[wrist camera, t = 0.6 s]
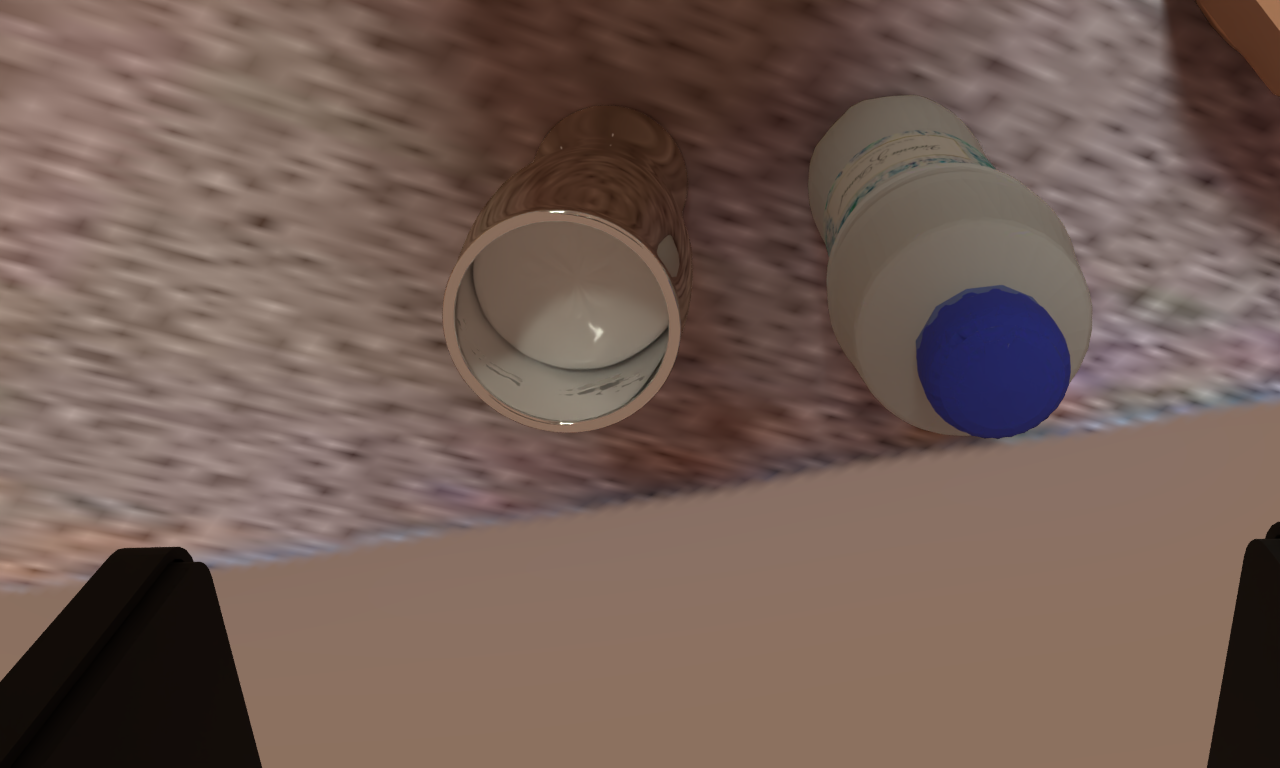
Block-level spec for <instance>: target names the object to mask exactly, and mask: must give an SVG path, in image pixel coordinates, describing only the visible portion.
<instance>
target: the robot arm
mask: <svg viewBox="0 0 1280 768" xmlns="http://www.w3.org/2000/svg"><path fill="white" fill-rule="evenodd" d="M0 768H262V766H261V762H260V758H259V754H258V750H257V747H256V743H255V739H254V735H253V731H252V728H251V724H250V720H249V716H248V712H247V708H246V705H245V701H244V697H243V693H242V690H241V686H240V682H239V678H238V674H237V671H236V667H235V663H234V659H233V655H232V651H231V648H230V644H229V640H228V636H227V633H226V629H225V625H224V621H223V617H222V613H221V610H220V606H219V602H218V598H217V594H216V591H215V587H214V583H213V579H212V576H211V573H210V571H209V569H208V567H207V566H206V565H205V564H204V563H202V562H193V559H192V557H191V555H190V554H189V553H188V552H187V550H185V549H183V548H181V547H151V548H123V549H118V550H117V551H115V552H114V553H113V554H112V555H110V557H109V558H108V559H107V560H106V561H105V562H104V563H103V565H102V566H101V567H100V568H99V569H98V570H97V571H96V573H95V574H94V575H93V576H92V577H91V578H90V579H89V581H88V582H87V583H86V584H85V585H84V586H83V588H82V589H81V590H80V591H79V592H78V593H77V595H76V596H75V597H74V598H73V599H72V600H71V601H70V603H69V604H68V605H67V606H66V607H65V608H64V609H63V610H62V612H61V613H60V614H59V615H58V616H57V617H56V619H55V620H54V621H53V622H52V623H51V624H50V625H49V627H48V628H47V629H46V630H45V631H44V632H43V633H42V635H41V636H40V637H39V638H38V639H37V640H36V641H35V643H34V644H33V645H32V646H31V647H30V648H29V650H28V651H27V652H26V653H25V654H24V655H23V656H22V658H21V659H20V660H19V661H18V662H17V663H16V665H15V666H14V667H13V668H12V669H11V670H10V671H9V673H8V674H7V675H6V676H5V677H4V678H3V679H2V681H1V682H0ZM1207 768H1280V522H1277V523H1275V524H1274V525H1272V526H1271V528H1270V529H1269V531H1268V532H1267V534H1266V538H1265V539H1254V540H1252V541H1251V542H1250V543H1249V544H1248V546H1247V548H1246V552H1245V555H1244V560H1243V566H1242V572H1241V577H1240V583H1239V588H1238V595H1237V600H1236V606H1235V611H1234V617H1233V623H1232V628H1231V634H1230V640H1229V646H1228V651H1227V657H1226V662H1225V668H1224V674H1223V679H1222V685H1221V691H1220V697H1219V702H1218V708H1217V714H1216V719H1215V725H1214V731H1213V736H1212V742H1211V748H1210V753H1209V759H1208V765H1207Z"/></svg>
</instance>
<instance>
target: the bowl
mask: <svg viewBox="0 0 1280 768" xmlns="http://www.w3.org/2000/svg"><path fill="white" fill-rule="evenodd" d="M1195 1H1196V4H1197V5H1198V7H1199V8H1200V10H1201V11H1202V13H1203V14H1204V16H1205V17H1206V19H1207V20H1208V22H1209V23H1210V25H1211V26H1212V27H1213V28H1214V29H1215V30H1216V31H1217V32H1218V33H1219V35H1220V36H1221V37H1222V38H1223V39H1224V40H1225V41H1226V42H1227V43H1228V44H1229V45H1230V46H1231V47H1233V48H1234V49H1235V50H1236V51H1238V52H1239V53H1240V54H1242V55H1243V57H1244V58H1245V59H1246V60H1247V62H1248V63H1249V64H1250V65H1251V67H1252V68H1253V69H1254V71H1255V72H1256V73H1257V74H1258V76H1259V77H1260V78H1261V79H1262V81H1263V82H1264V83H1265V85H1266V86H1267V87H1268V88H1269V90H1270V91H1271V92H1272V93H1273V94H1274V95H1277V96H1279V97H1280V0H1195Z"/></svg>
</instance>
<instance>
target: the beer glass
mask: <svg viewBox="0 0 1280 768" xmlns="http://www.w3.org/2000/svg"><path fill="white" fill-rule="evenodd" d="M687 190H688V178H687V170H686V166H685V162H684V159H683V156H682V154H681V152H680V150H679V148H678V146H677V144H676V142H675V141H674V139H673V138H672V137H671V135H670V134H669V133H668V132H667V131H666V130H665V129H664V128H663V127H662V126H661V125H660V124H659V123H657V122H656V121H655V120H653V119H652V118H650V117H649V116H647V115H645V114H643V113H641V112H639V111H637V110H634V109H631V108H627V107H623V106H616V105H600V106H593V107H588V108H585V109H581V110H579V111H576V112H574V113H572V114H570V115H568V116H567V117H565V118H564V119H562V120H561V121H560V122H558V123H557V124H556V125H555V126H554V127H553V128H552V129H551V130H550V131H549V133H548V134H547V135H546V137H545V138H544V140H543V141H542V143H541V144H540V146H539V148H538V150H537V153H536V155H535V158H534V161H533V162H532V163H530V164H529V165H527V166H526V167H524V168H523V169H521V170H520V171H518V172H517V173H515V174H514V175H513V176H511V177H510V178H509V179H508V180H507V181H506V182H505V183H503V184H502V186H501V187H500V188H499V189H498V190H497V191H496V192H495V194H494V195H493V196H492V197H491V198H490V200H489V201H488V202H487V203H486V205H485V206H484V207H483V209H482V210H481V212H480V213H479V215H478V217H477V219H476V220H475V222H474V224H473V226H472V228H471V229H470V231H469V233H468V235H467V237H466V240H465V242H464V244H463V247H462V249H461V252H460V254H459V257H458V260H457V262H456V264H455V266H454V268H453V270H452V272H451V274H450V277H449V279H448V282H447V285H446V289H445V293H444V298H443V308H442V323H443V331H444V337H445V341H446V345H447V348H448V351H449V354H450V356H451V359H452V361H453V363H454V365H455V367H456V369H457V370H458V372H459V374H460V375H461V377H462V378H463V380H464V381H465V382H466V384H467V385H468V386H469V387H470V389H471V390H472V391H473V392H474V393H475V394H476V395H477V396H478V397H479V398H480V399H481V400H482V401H484V402H485V403H486V404H487V405H489V406H490V407H491V408H493V409H494V410H495V411H497V412H498V413H500V414H502V415H503V416H505V417H507V418H509V419H511V420H513V421H515V422H518V423H520V424H523V425H525V426H528V427H532V428H535V429H539V430H544V431H550V432H560V433H576V432H586V431H592V430H596V429H600V428H604V427H607V426H610V425H613V424H615V423H617V422H620V421H622V420H624V419H626V418H627V417H629V416H631V415H632V414H634V413H635V412H637V411H638V410H640V409H641V408H642V407H643V406H645V405H646V404H647V403H648V402H649V401H650V400H651V399H652V398H653V397H654V396H655V395H656V393H657V392H658V391H659V390H660V388H661V387H662V386H663V384H664V383H665V381H666V380H667V378H668V376H669V374H670V372H671V370H672V368H673V366H674V363H675V360H676V357H677V354H678V350H679V345H680V339H681V336H682V333H683V329H684V326H685V322H686V319H687V315H688V310H689V304H690V298H691V291H692V281H693V269H692V249H691V243H690V239H689V235H688V232H687V228H686V225H685V222H684V219H683V216H682V212H683V209H684V206H685V202H686V198H687Z"/></svg>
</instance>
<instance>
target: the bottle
mask: <svg viewBox="0 0 1280 768" xmlns="http://www.w3.org/2000/svg"><path fill="white" fill-rule="evenodd" d="M808 194H809V205H810V208H811V212H812V216H813V219H814V222H815V224H816V226H817V228H818V230H819V233H820V235H821V237H822V239H823V241H824V243H825V244H826V248H827V252H828V256H829V261H828V265H827V279H826V284H827V296H828V310H829V316H830V321H831V326H832V329H833V331H834V334H835V336H836V339H837V341H838V343H839V345H840V347H841V348H842V350H843V352H844V353H845V355H846V356H847V358H848V359H849V360H850V361H851V363H852V364H853V365H854V367H855V368H856V370H857V371H858V373H859V374H860V376H861V377H862V379H863V381H864V382H865V384H866V385H867V387H868V388H869V390H870V392H871V393H872V394H873V395H874V396H875V398H876V399H877V400H878V401H879V402H880V403H881V404H882V405H883V406H884V407H885V408H886V409H887V410H889V411H890V412H891V413H893V414H894V415H895V416H897V417H898V418H900V419H901V420H903V421H905V422H907V423H909V424H911V425H913V426H915V427H918V428H920V429H923V430H927V431H931V432H935V433H939V434H943V435H957V436H978V437H982V438H997V439H999V438H1003V437H1012V436H1014V435H1017V434H1020V433H1025V432H1026V431H1028V430H1029V429H1032V428H1034V427H1036V426H1038V425H1039V424H1040V423H1041V422H1042V421H1044V420H1045V419H1047V418H1048V417H1049V415H1050V414H1051V413H1052V412H1053V411H1054V410H1055V409H1057V407H1058V406H1059V404H1060V402H1061V401H1062V399H1063V398H1064V396H1065V393H1066V391H1067V388H1068V386H1069V383H1070V382H1071V380H1072V379H1073V377H1074V376H1075V374H1076V373H1077V371H1078V370H1079V368H1080V366H1081V363H1082V361H1083V359H1084V357H1085V354H1086V352H1087V350H1088V346H1089V341H1090V336H1091V331H1092V303H1091V298H1090V293H1089V290H1088V287H1087V284H1086V281H1085V278H1084V276H1083V274H1082V271H1081V269H1080V266H1079V264H1078V262H1077V259H1076V257H1075V252H1074V248H1073V245H1072V242H1071V239H1070V237H1069V235H1068V233H1067V231H1066V229H1065V227H1064V225H1063V224H1062V222H1061V221H1060V219H1059V218H1058V217H1057V215H1056V214H1055V212H1054V211H1053V210H1052V209H1051V208H1050V207H1049V206H1048V205H1047V204H1046V203H1045V202H1044V201H1043V200H1042V199H1041V198H1039V197H1038V196H1037V195H1036V194H1034V193H1033V192H1032V191H1030V190H1029V189H1028V188H1027V187H1026V186H1024V185H1023V184H1022V183H1021V182H1019V181H1017V180H1016V179H1014V178H1012V177H1011V176H1009V175H1007V174H1005V173H1003V172H1000V171H997V170H996V169H995V168H994V167H993V166H992V164H991V163H990V162H989V161H988V160H987V158H986V156H985V154H984V152H983V150H982V148H981V146H980V144H979V142H978V141H977V139H976V138H975V137H974V135H973V134H972V132H971V131H970V130H969V129H968V127H967V126H966V125H965V124H964V123H963V122H962V121H961V120H960V119H959V118H958V117H957V116H955V115H954V114H953V113H952V112H951V111H949V110H948V109H946V108H944V107H943V106H941V105H940V104H938V103H936V102H934V101H932V100H930V99H928V98H925V97H922V96H916V95H905V96H887V97H881V98H875V99H868V100H864V101H861V102H859V103H857V104H855V105H853V106H852V107H850V108H849V109H848V110H847V111H846V112H845V113H844V114H843V115H842V116H841V117H840V118H839V119H838V120H837V121H836V122H835V123H834V124H833V125H832V126H831V128H830V129H829V130H828V131H827V133H826V134H825V135H824V136H823V138H822V139H821V140H820V141H819V142H818V144H817V145H816V147H815V149H814V152H813V155H812V158H811V161H810V166H809V180H808Z"/></svg>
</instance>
